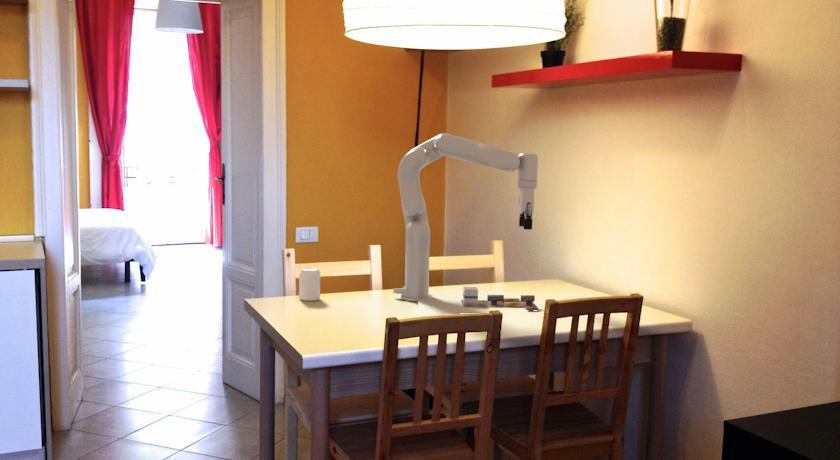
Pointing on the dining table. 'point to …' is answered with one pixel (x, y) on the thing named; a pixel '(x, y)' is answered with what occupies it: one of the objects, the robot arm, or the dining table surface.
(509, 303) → the rig
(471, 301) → the coupler
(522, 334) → the dining table surface
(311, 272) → the beverage can
